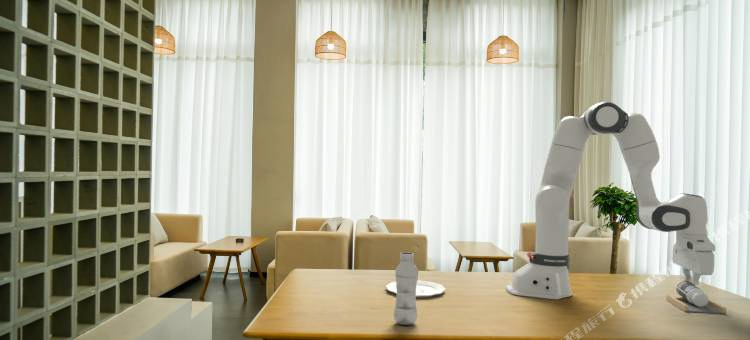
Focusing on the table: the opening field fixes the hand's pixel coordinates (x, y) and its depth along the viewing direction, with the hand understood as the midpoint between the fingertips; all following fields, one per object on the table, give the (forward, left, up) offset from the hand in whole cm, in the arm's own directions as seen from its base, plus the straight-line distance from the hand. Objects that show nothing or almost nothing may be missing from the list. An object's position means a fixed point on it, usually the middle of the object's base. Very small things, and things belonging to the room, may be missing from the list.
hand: (691, 282), depth 161 cm
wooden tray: (-1, -4, -7) cm, 8 cm away
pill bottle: (-1, +4, -3) cm, 5 cm away
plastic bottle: (-93, -41, -7) cm, 102 cm away
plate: (-93, -5, -8) cm, 93 cm away
